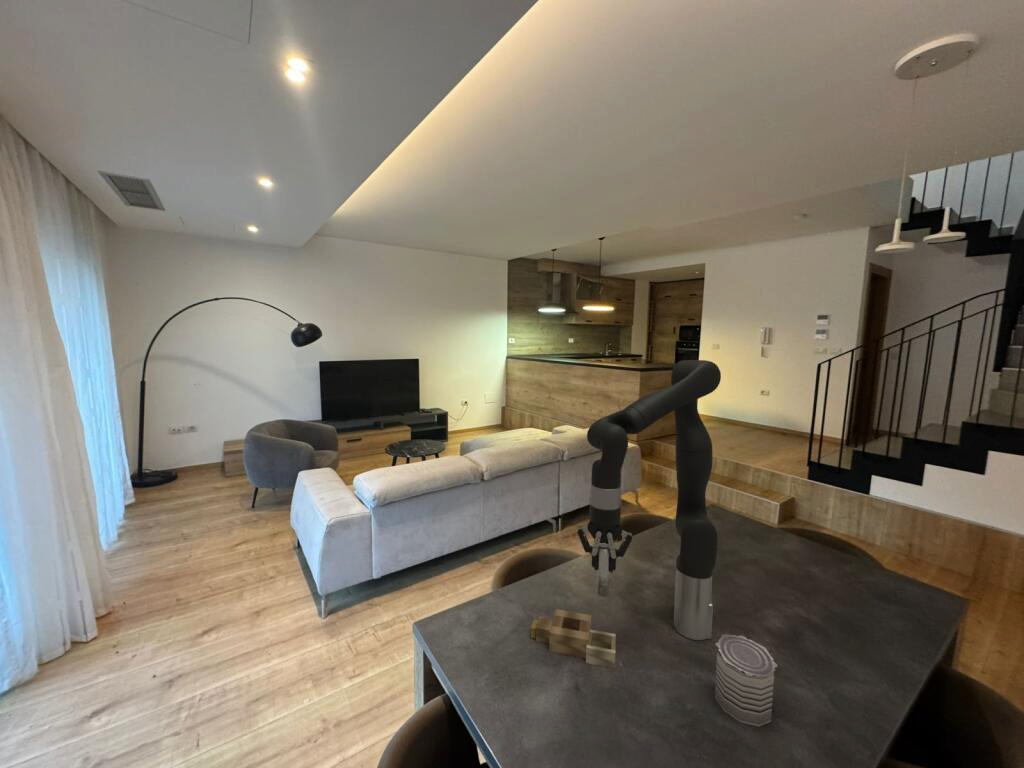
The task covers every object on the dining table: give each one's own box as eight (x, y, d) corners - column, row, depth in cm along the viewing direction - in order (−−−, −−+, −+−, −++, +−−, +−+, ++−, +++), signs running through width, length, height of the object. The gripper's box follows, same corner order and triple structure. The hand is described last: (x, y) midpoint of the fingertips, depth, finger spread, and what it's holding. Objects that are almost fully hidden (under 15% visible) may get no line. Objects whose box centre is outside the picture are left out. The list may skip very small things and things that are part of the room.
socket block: (591, 632, 112) (591, 615, 112) (588, 658, 102) (588, 640, 102) (541, 623, 116) (541, 606, 115) (533, 647, 106) (534, 629, 106)
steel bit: (609, 590, 103) (610, 544, 103) (609, 597, 100) (610, 550, 99) (596, 588, 104) (598, 543, 103) (596, 595, 101) (597, 548, 100)
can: (751, 682, 96) (754, 633, 95) (786, 726, 84) (789, 672, 83) (704, 683, 95) (706, 634, 94) (732, 727, 84) (735, 673, 83)
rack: (615, 648, 106) (615, 634, 106) (614, 668, 99) (615, 653, 99) (588, 643, 108) (588, 629, 108) (585, 662, 101) (586, 647, 101)
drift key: (562, 634, 111) (563, 624, 111) (561, 643, 107) (561, 633, 107) (533, 628, 113) (533, 619, 113) (530, 637, 109) (530, 627, 109)
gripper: (634, 500, 102) (632, 566, 104) (578, 494, 106) (576, 558, 107) (635, 511, 95) (633, 582, 96) (575, 505, 99) (573, 573, 100)
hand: (603, 569), depth 102 cm, fingers closed on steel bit, 3 cm apart
